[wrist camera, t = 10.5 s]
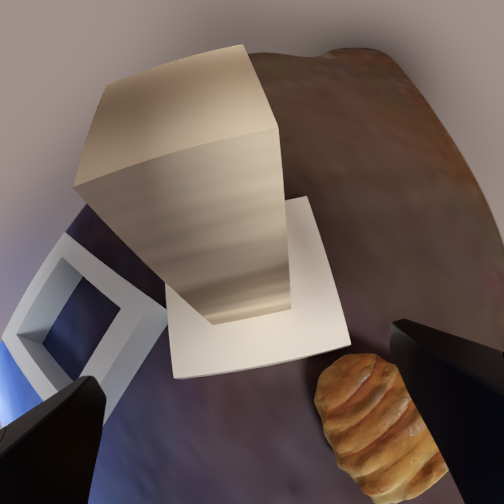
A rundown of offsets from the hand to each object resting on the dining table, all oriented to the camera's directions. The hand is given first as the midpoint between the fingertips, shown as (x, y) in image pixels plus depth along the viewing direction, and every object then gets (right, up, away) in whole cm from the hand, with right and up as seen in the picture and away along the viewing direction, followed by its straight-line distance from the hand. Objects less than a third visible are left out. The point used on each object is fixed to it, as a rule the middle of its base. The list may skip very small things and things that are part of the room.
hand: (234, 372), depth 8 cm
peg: (0, +2, +10) cm, 10 cm away
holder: (-11, -3, +11) cm, 16 cm away
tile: (0, +1, +11) cm, 11 cm away
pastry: (+8, -7, +6) cm, 12 cm away
